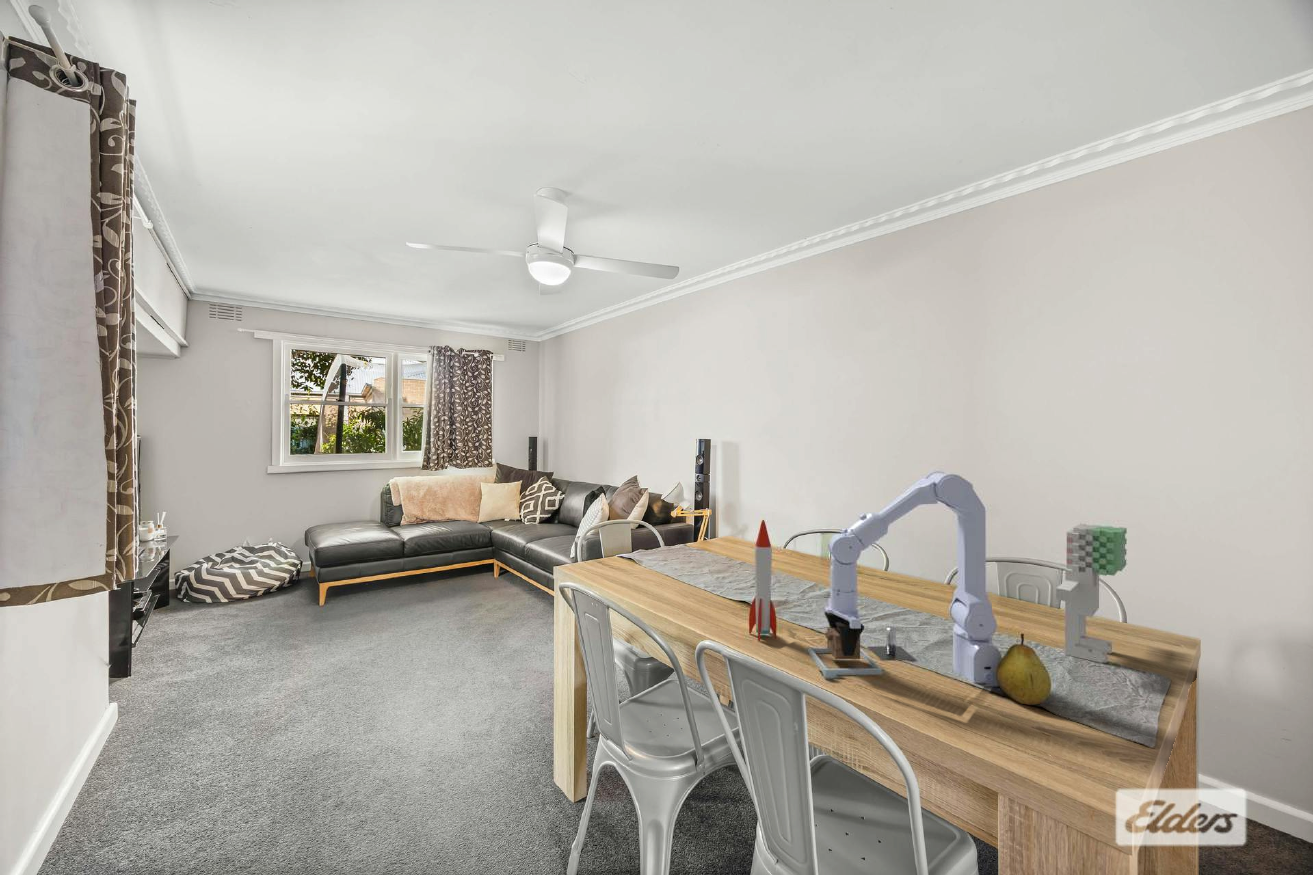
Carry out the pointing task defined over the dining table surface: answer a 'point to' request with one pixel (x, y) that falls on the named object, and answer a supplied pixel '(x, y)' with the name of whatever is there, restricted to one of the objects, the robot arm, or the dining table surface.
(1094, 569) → the toy
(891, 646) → the post
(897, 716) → the dining table surface
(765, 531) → the toy rocket
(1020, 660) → the fruit
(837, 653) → the collar
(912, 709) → the dining table surface
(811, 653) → the grey rectangular frame
